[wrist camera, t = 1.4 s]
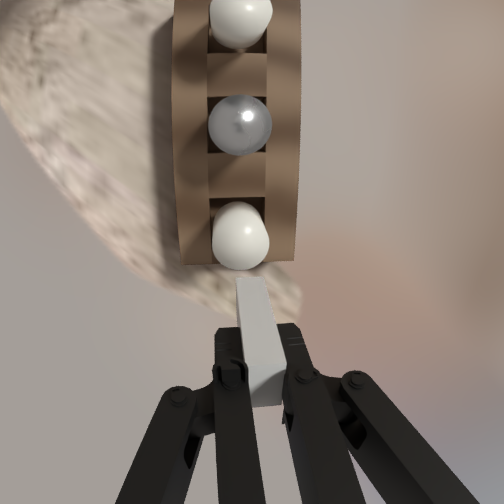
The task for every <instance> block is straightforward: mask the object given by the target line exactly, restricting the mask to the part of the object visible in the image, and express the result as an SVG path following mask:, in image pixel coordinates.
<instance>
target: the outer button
mask: <svg viewBox="0 0 504 504" xmlns="http://www.w3.org/2000/svg"><path fill="white" fill-rule="evenodd" d="M212 249H213V253H214V255H215V257H216V259H217V260H218V261H219V262H220V263H221V264H222V265H224V266H225V267H227V268H230V269H233V270H246V269H250V268H252V267H255V266H256V265H258V264H259V263H260V262H261V261H262V260H263V259H264V258H265V256H266V255H267V252H268V249H269V237H268V234H267V231H266V229H265V226H264V224H263V221H262V219H261V216H260V214H259V212H258V211H257V210H256V209H255V208H254V207H253V206H252V205H250V204H248V203H245V202H238V201H237V202H231V203H228V204H226V205H224V206H223V207H222V208H220V209H219V211H218V212H217V213H216V215H215V218H214V222H213V237H212Z"/></svg>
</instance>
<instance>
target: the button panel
mask: <svg viewBox="0 0 504 504" xmlns="http://www.w3.org/2000/svg"><path fill="white" fill-rule="evenodd" d="M211 2H212V0H175V1H174V16H173V37H172V78H171V101H172V145H173V167H174V185H175V199H176V213H177V225H178V236H179V246H180V256H181V265H195V264H221V263H220V262H219V261H218V260H217V259H216V257H215V255H214V253H213V249H212V237H213V222H214V218H215V215H216V213H217V212H218V211H219V209H220V208H222V207H223V206H224V205H226V204H228V203H231V202H237V201H238V202H245V203H248V204H250V205H252V206H253V207H254V208H255V209H256V210H257V211H258V212H259V214H260V216H261V219H262V221H263V224H264V226H265V229H266V231H267V234H268V237H269V249H268V252H267V255H266V256H265V258H264V259H263V260H262V261H261V262H272V261H293V260H294V249H295V234H296V218H297V200H298V181H299V155H300V124H301V9H300V0H270V2H271V4H272V10H273V12H272V17H271V19H270V21H269V23H268V25H267V27H266V29H265V31H264V33H263V35H262V36H261V38H260V39H259V41H258V42H257V43H255V44H254V45H252V46H250V47H247V48H243V49H232V48H228V47H225V46H223V45H221V44H220V43H219V42H217V41H216V39H215V38H214V36H213V34H212V30H211V21H210V4H211ZM238 94H243V95H249V96H252V97H254V98H256V99H258V100H260V101H261V102H262V103H263V104H264V105H265V106H266V108H267V109H268V111H269V113H270V115H271V119H272V130H271V134H270V137H269V139H268V141H267V142H266V143H265V144H264V146H263V147H261V148H260V149H259V150H257V151H256V152H254V153H251V154H248V155H241V156H239V155H232V154H228V153H226V152H224V151H222V150H221V149H220V148H218V147H217V146H216V145H215V143H214V142H213V141H212V139H211V137H210V134H209V129H208V121H209V117H210V114H211V112H212V110H213V108H214V107H215V106H216V105H217V104H218V103H219V102H220V101H221V100H223V99H224V98H226V97H229V96H232V95H238Z"/></svg>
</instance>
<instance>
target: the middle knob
mask: <svg viewBox="0 0 504 504" xmlns="http://www.w3.org/2000/svg"><path fill="white" fill-rule="evenodd" d="M208 129H209V134H210V137H211V139H212V141H213V142H214V143H215V145H216V146H217V147H218V148H220V149H221V150H222V151H224V152H226V153H228V154H232V155H239V156H241V155H248V154H251V153H254V152H256V151H257V150H259V149H260V148H261V147H263V146H264V144H265V143H266V142H267V141H268V139H269V137H270V134H271V130H272V119H271V115H270V113H269V111H268V109H267V108H266V106H265V105H264V104H263V103H262V102H261V101H260V100H258V99H256V98H254V97H252V96H249V95H243V94H238V95H232V96H229V97H226V98H224V99H223V100H221V101H220V102H219V103H218V104H217V105H216V106H215V107H214V108H213V110H212V112H211V114H210V117H209V121H208Z"/></svg>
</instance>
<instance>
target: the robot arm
mask: <svg viewBox="0 0 504 504" xmlns="http://www.w3.org/2000/svg"><path fill="white" fill-rule="evenodd" d="M236 308H237V325H238V327H229V328H219V329H218V330H217V332H216V334H215V364H214V365H213V369H212V373H213V381H212V382H211V383H210V384H209V385H207V386H206V387H204V388H201V389H198V390H194V391H192V390H191V389H190V388H187V387H184V386H176V387H172V388H170V389H168V390H167V391H165V393H164V394H163V395H162V397H161V400H160V402H159V404H158V406H157V408H156V411H155V413H154V415H153V417H152V420H151V422H150V424H149V426H148V428H147V431H146V433H145V436H144V438H143V440H142V442H141V444H140V447H139V449H138V451H137V453H136V456H135V458H134V460H133V463H132V465H131V467H130V470H129V472H128V474H127V476H126V479H125V481H124V483H123V486H122V488H121V491H120V493H119V495H118V498H117V500H116V502H115V504H184V501H185V498H186V495H187V491H188V488H189V485H190V481H191V478H192V474H193V471H194V468H195V465H196V461H197V458H198V455H199V451H200V448H201V445H202V441H203V438H204V436H205V435H209V434H211V433H215V439H216V440H215V441H216V464H217V483H218V498H219V499H218V500H219V504H266V501H265V494H264V488H263V481H262V475H261V468H260V461H259V454H258V448H257V440H256V434H255V426H254V419H253V412H252V407H264V406H274V405H281V404H282V400H283V404H284V411H283V418H282V424H285V425H286V430H287V435H288V439H289V443H290V449H291V453H292V458H293V463H294V467H295V472H296V476H297V481H298V486H299V490H300V495H301V499H302V504H366V502H365V499H364V496H363V493H362V490H361V487H360V484H359V481H358V478H357V475H356V472H355V469H354V466H353V463H352V460H351V458H350V455H349V452H348V450H349V451H350V453H351V454H352V456H353V457H354V459H355V460H356V461H357V463H358V464H359V466H360V467H361V469H362V470H363V471H364V473H365V474H366V476H367V477H368V479H369V480H370V481H371V483H372V484H373V485H374V487H375V488H376V490H377V491H378V493H379V494H380V495H381V497H382V498H383V500H384V501H385V502H386V504H480V503H479V502H478V501H477V500H476V499H475V498H474V496H473V495H472V494H471V493H470V492H469V490H468V489H467V488H466V487H465V486H464V485H463V483H462V482H461V481H460V480H459V479H458V478H457V476H456V475H455V474H454V473H453V472H452V471H451V469H450V468H449V467H448V466H447V465H446V464H445V462H444V461H443V460H442V459H441V458H440V457H439V455H438V454H437V453H436V452H435V451H434V450H433V448H432V447H431V446H430V445H429V444H428V443H427V441H426V440H425V439H424V438H423V437H422V436H421V435H420V433H418V431H417V430H416V429H415V428H414V427H413V425H412V424H411V423H410V422H409V421H408V420H407V418H406V417H405V416H404V415H403V414H402V413H401V412H400V411H399V409H398V408H397V407H396V406H395V405H394V403H393V402H392V401H391V400H390V399H389V398H388V397H387V395H386V394H385V393H384V392H383V391H382V390H381V389H380V388H379V386H378V385H377V384H376V383H375V382H374V381H373V379H372V378H371V377H370V376H369V375H367V374H366V373H364V372H362V371H355V370H354V371H349V372H347V373H346V374H344V375H343V377H342V378H336V377H328V376H325V375H322V374H320V372H319V371H318V370H317V369H315V368H314V367H313V364H312V362H311V359H310V356H309V353H308V351H307V348H306V345H305V342H304V339H303V337H302V334H301V331H300V329H299V328H298V327H297V326H296V325H295V324H294V323H284V324H276V321H275V318H274V314H273V310H272V306H271V303H270V299H269V295H268V292H267V288H266V284H265V281H264V277H242V278H236ZM347 448H348V449H347Z"/></svg>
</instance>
